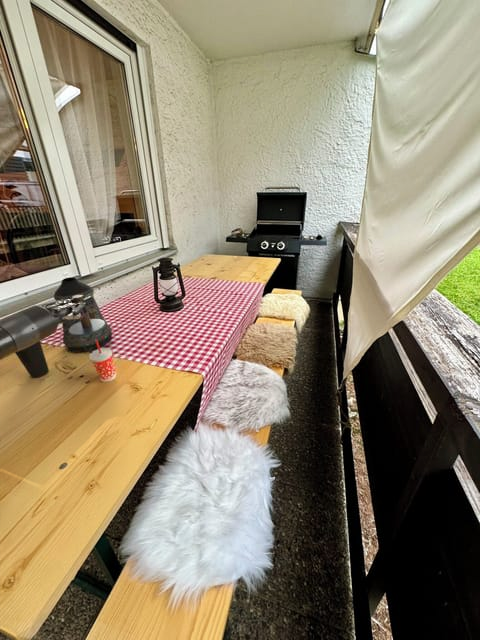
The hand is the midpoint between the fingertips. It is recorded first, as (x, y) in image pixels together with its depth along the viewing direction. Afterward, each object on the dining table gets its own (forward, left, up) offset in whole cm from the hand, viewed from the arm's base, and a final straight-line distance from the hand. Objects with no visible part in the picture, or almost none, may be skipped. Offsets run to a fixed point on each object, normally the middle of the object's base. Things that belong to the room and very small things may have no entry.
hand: (88, 299), depth 71 cm
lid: (0, -3, -8) cm, 8 cm away
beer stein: (-24, +13, -26) cm, 38 cm away
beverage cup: (0, -2, -26) cm, 26 cm away
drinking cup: (-23, -7, -26) cm, 35 cm away
